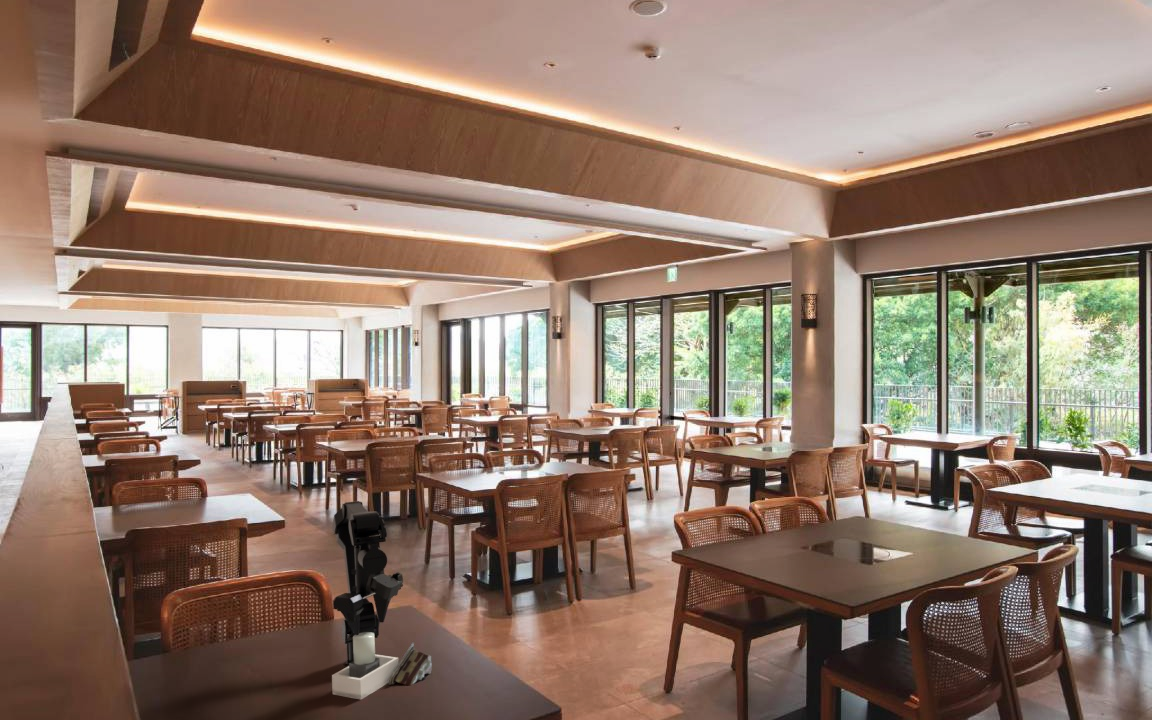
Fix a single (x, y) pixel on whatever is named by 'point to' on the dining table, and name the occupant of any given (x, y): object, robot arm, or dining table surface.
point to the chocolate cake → (411, 667)
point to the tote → (364, 679)
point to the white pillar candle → (364, 648)
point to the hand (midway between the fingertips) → (369, 628)
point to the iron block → (362, 668)
